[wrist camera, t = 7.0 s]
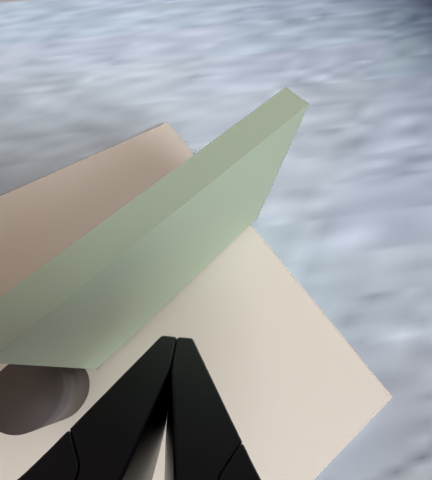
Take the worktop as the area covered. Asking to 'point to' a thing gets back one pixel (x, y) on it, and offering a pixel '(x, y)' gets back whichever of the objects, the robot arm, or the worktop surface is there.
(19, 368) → the tan dark-tipped bar
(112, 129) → the worktop surface
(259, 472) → the card
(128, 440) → the robot arm
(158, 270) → the fence panel
